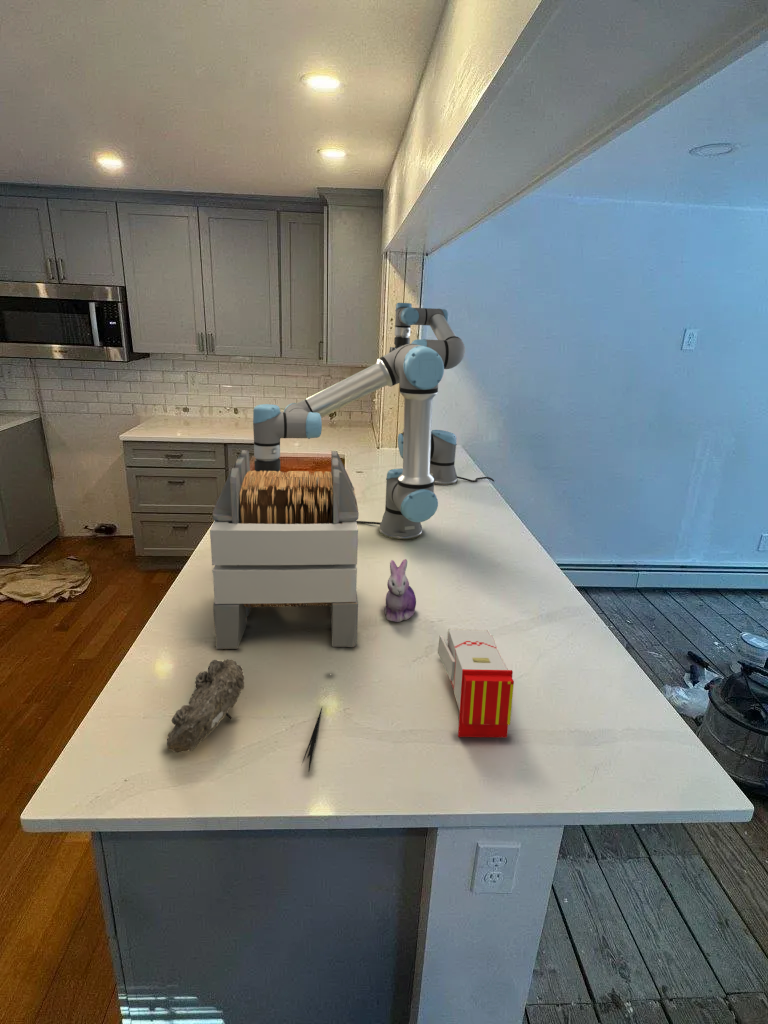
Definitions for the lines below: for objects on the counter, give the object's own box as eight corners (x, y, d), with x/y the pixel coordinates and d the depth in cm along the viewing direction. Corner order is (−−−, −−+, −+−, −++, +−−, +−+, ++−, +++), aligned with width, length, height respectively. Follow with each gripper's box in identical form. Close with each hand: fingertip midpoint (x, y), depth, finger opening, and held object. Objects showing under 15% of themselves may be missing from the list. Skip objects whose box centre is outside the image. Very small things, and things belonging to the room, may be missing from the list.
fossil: (192, 660, 117) (244, 628, 112) (224, 691, 120) (276, 661, 115) (142, 746, 98) (202, 712, 93) (182, 779, 101) (242, 748, 96)
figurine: (392, 627, 141) (395, 572, 136) (374, 608, 149) (376, 556, 144) (425, 619, 145) (429, 566, 140) (405, 601, 154) (408, 550, 149)
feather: (331, 679, 122) (336, 673, 122) (307, 777, 96) (313, 769, 95) (324, 675, 122) (329, 669, 121) (298, 772, 95) (304, 764, 95)
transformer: (234, 582, 160) (226, 440, 146) (350, 581, 163) (353, 443, 150) (213, 651, 128) (201, 478, 114) (357, 647, 132) (363, 480, 118)
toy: (488, 613, 130) (523, 677, 101) (484, 667, 133) (517, 744, 104) (435, 612, 130) (455, 676, 101) (432, 666, 133) (451, 743, 103)
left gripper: (245, 465, 158) (247, 542, 166) (301, 456, 170) (301, 528, 178) (231, 459, 163) (235, 534, 171) (287, 451, 175) (288, 521, 183)
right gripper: (388, 337, 263) (386, 383, 270) (425, 337, 279) (422, 381, 287) (377, 336, 268) (376, 381, 276) (414, 336, 285) (412, 379, 292)
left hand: (268, 531), depth 174 cm, fingers closed on block, 6 cm apart
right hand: (399, 381), depth 281 cm, fingers open, 13 cm apart
